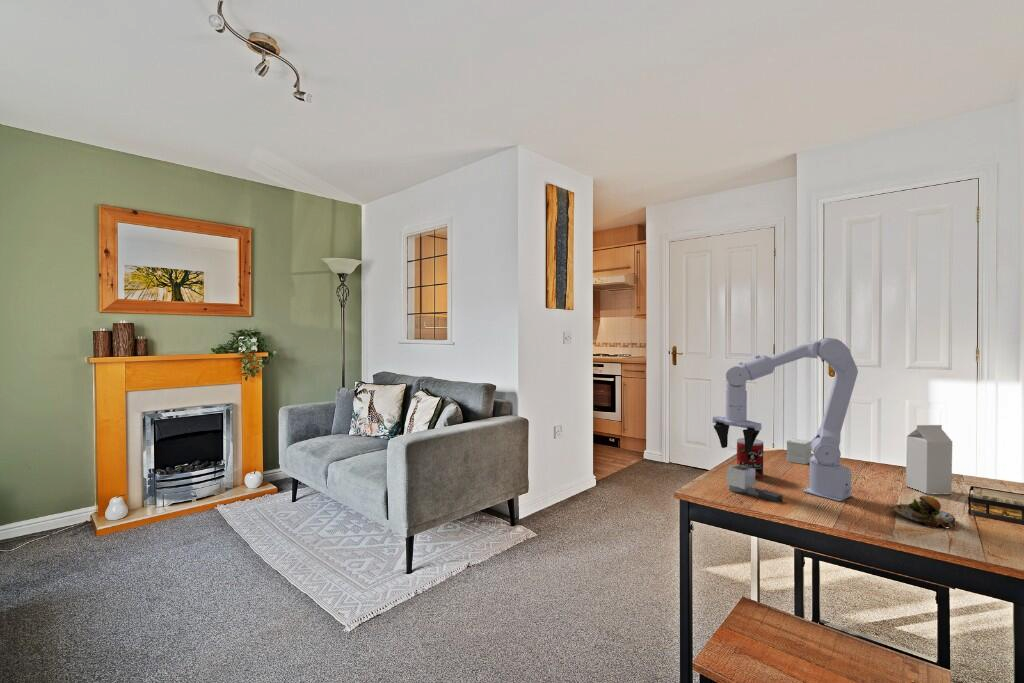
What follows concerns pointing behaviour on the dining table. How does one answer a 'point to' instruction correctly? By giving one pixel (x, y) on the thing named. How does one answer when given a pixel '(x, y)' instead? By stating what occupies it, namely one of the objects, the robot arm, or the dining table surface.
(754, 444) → the canned food
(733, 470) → the socket
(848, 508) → the dining table surface
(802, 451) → the skincare box
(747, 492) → the ratchet
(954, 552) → the dining table surface
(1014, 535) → the dining table surface
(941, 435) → the milk carton
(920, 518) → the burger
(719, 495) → the dining table surface
